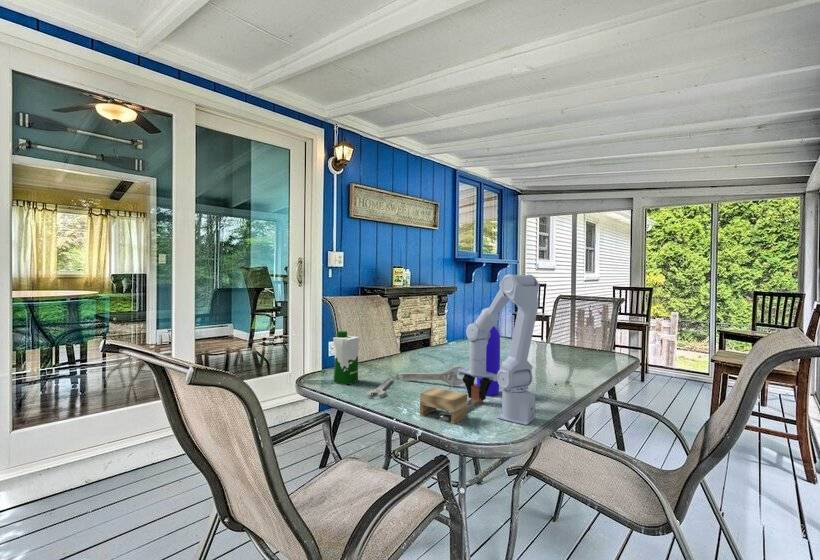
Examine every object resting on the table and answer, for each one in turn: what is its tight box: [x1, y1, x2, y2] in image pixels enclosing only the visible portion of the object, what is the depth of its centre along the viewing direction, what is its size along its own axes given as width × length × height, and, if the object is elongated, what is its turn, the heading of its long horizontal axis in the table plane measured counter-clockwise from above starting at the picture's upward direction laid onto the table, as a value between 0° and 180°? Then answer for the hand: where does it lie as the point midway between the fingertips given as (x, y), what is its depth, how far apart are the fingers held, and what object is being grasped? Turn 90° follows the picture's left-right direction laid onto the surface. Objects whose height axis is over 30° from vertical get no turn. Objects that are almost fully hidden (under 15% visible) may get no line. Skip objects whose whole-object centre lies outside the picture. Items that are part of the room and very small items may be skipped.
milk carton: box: [332, 330, 361, 385], centre depth 169 cm, size 9×9×20 cm
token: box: [438, 411, 451, 423], centre depth 128 cm, size 4×4×2 cm
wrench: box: [395, 365, 466, 388], centre depth 168 cm, size 8×2×30 cm
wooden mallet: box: [467, 383, 484, 412], centre depth 139 cm, size 3×17×6 cm, turn 145°
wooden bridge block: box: [419, 387, 468, 425], centre depth 130 cm, size 12×8×7 cm, turn 55°
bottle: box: [476, 325, 501, 397], centre depth 156 cm, size 8×8×30 cm
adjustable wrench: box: [365, 377, 393, 399], centre depth 160 cm, size 25×6×2 cm, turn 164°
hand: (477, 398), depth 144 cm, fingers open, 4 cm apart
